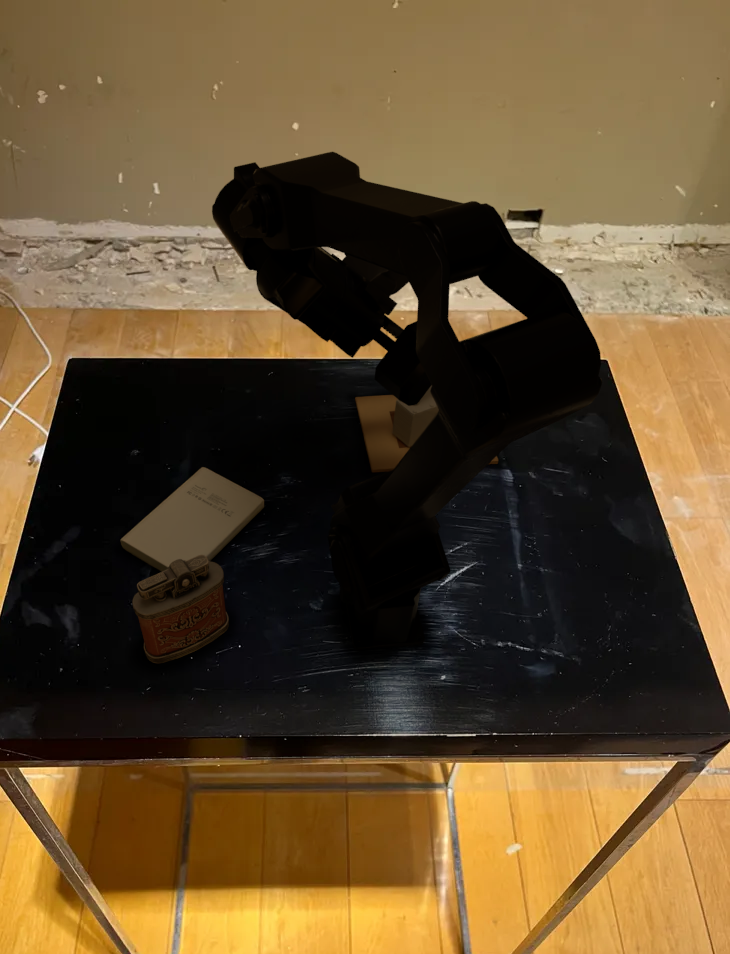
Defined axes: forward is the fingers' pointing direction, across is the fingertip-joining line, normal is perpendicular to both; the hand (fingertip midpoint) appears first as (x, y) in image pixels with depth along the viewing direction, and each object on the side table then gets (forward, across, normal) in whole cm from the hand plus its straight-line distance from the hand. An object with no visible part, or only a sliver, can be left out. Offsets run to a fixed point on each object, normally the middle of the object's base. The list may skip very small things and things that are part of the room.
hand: (404, 352), depth 81 cm
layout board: (+13, 0, +6) cm, 14 cm away
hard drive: (-7, +2, +26) cm, 27 cm away
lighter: (-13, -8, +31) cm, 35 cm away
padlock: (+12, 0, +6) cm, 13 cm away
